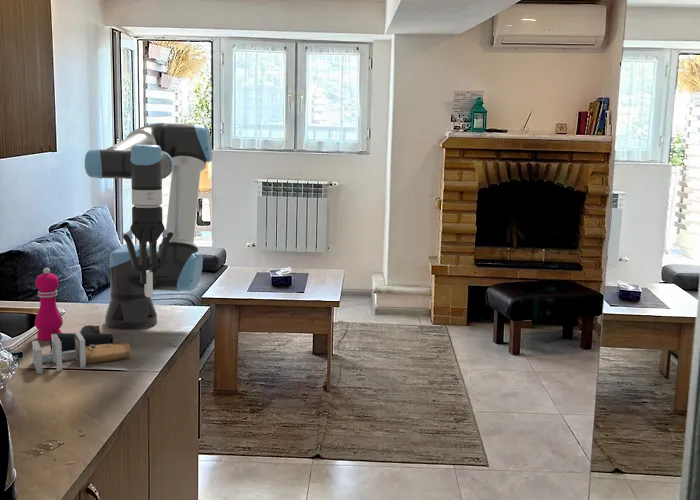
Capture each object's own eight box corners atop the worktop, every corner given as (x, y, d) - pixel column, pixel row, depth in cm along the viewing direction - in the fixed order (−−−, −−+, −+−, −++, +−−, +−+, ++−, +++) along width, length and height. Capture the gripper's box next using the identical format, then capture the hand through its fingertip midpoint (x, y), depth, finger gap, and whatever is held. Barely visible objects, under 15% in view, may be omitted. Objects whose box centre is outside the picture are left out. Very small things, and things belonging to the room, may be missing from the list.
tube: (126, 355, 195) (126, 339, 194) (130, 360, 191) (130, 343, 190) (79, 361, 189) (78, 344, 188) (82, 366, 185) (81, 349, 185)
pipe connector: (64, 323, 204) (119, 323, 205) (65, 341, 205) (119, 342, 206) (49, 335, 193) (108, 336, 194) (50, 355, 194) (108, 355, 195)
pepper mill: (65, 333, 212) (62, 265, 208) (61, 341, 205) (58, 270, 201) (38, 334, 210) (35, 265, 207) (33, 341, 203) (29, 270, 200)
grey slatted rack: (79, 357, 192) (78, 330, 191) (85, 367, 184) (84, 339, 183) (32, 362, 186) (31, 335, 185) (37, 374, 179) (36, 345, 177)
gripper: (124, 208, 182) (126, 301, 186) (176, 206, 189) (177, 296, 193) (117, 204, 189) (119, 295, 193) (168, 203, 195) (169, 290, 199)
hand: (148, 295), depth 193 cm, fingers closed
